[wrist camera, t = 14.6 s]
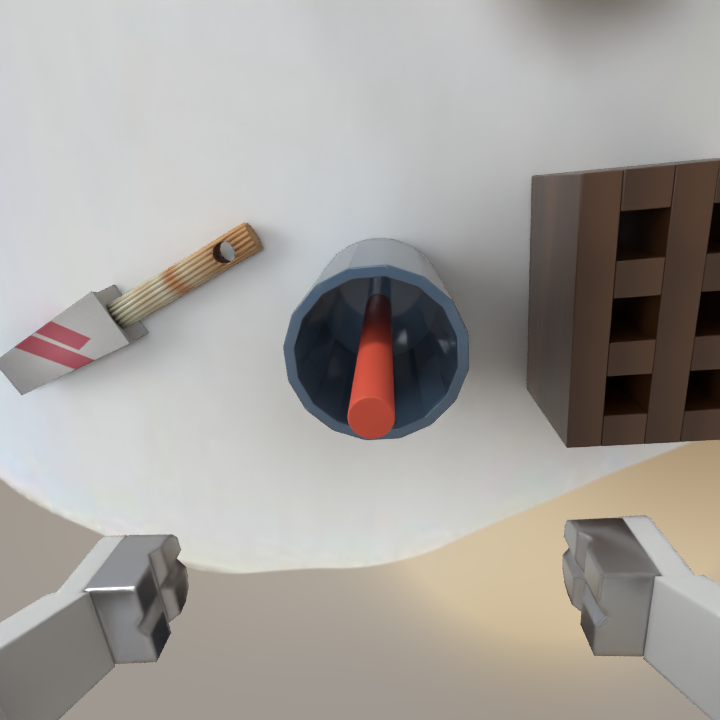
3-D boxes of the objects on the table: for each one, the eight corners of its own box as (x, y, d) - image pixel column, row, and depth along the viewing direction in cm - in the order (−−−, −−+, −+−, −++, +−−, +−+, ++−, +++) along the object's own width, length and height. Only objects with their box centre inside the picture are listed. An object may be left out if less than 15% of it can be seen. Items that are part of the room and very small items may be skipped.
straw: (390, 292, 31) (393, 394, 16) (391, 317, 32) (396, 438, 17) (365, 294, 31) (345, 398, 16) (367, 319, 32) (349, 440, 17)
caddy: (704, 159, 28) (819, 150, 21) (675, 379, 33) (760, 438, 25) (531, 175, 29) (581, 173, 22) (526, 389, 34) (566, 448, 26)
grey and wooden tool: (-29, 361, 32) (232, 208, 29) (1, 349, 34) (243, 207, 31) (11, 410, 33) (267, 268, 30) (37, 394, 35) (275, 262, 32)
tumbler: (439, 232, 31) (467, 257, 20) (444, 356, 33) (470, 434, 23) (309, 243, 31) (271, 274, 21) (324, 364, 34) (297, 444, 24)
